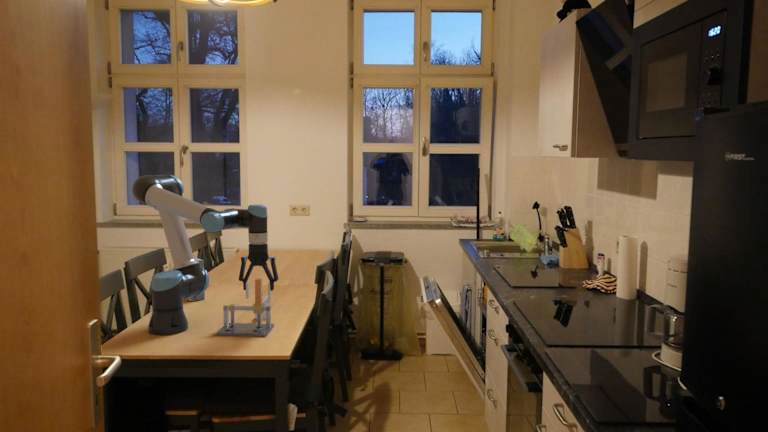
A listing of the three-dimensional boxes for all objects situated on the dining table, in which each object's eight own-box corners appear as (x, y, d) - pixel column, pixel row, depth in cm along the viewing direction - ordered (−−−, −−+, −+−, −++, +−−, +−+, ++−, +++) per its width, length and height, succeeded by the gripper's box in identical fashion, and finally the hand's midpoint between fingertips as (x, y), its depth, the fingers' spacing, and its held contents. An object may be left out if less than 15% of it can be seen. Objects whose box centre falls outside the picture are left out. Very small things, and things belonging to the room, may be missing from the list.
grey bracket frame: (223, 327, 223) (223, 305, 222) (225, 325, 226) (224, 304, 225) (269, 328, 222) (269, 306, 222) (270, 326, 225) (270, 304, 224)
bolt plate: (216, 335, 216) (216, 332, 216) (226, 325, 229) (226, 322, 229) (266, 336, 215) (266, 333, 215) (274, 326, 228) (274, 323, 228)
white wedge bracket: (278, 309, 245) (270, 295, 241) (262, 325, 239) (254, 310, 235) (273, 308, 247) (265, 293, 243) (257, 323, 241) (249, 308, 237)
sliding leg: (253, 327, 222) (253, 280, 220) (256, 324, 226) (255, 278, 224) (262, 327, 222) (261, 280, 220) (264, 324, 225) (264, 278, 224)
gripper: (229, 244, 217) (230, 299, 219) (282, 244, 216) (282, 300, 218) (235, 241, 224) (236, 295, 227) (286, 242, 224) (286, 296, 226)
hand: (258, 297), depth 223 cm, fingers open, 8 cm apart
